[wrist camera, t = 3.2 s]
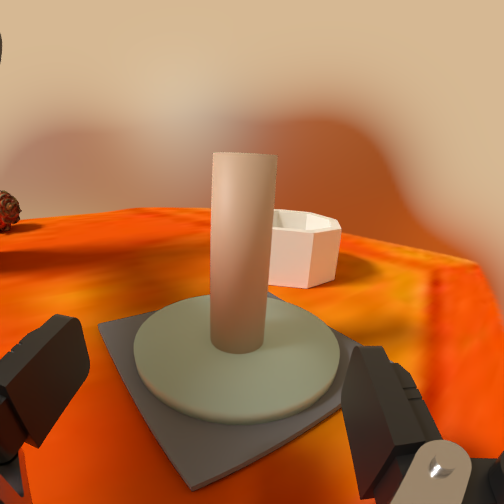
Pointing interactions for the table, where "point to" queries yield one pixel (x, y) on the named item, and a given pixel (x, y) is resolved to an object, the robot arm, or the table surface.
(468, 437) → the table surface
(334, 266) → the bowl
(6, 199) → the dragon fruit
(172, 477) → the table surface
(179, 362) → the lid
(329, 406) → the mat
